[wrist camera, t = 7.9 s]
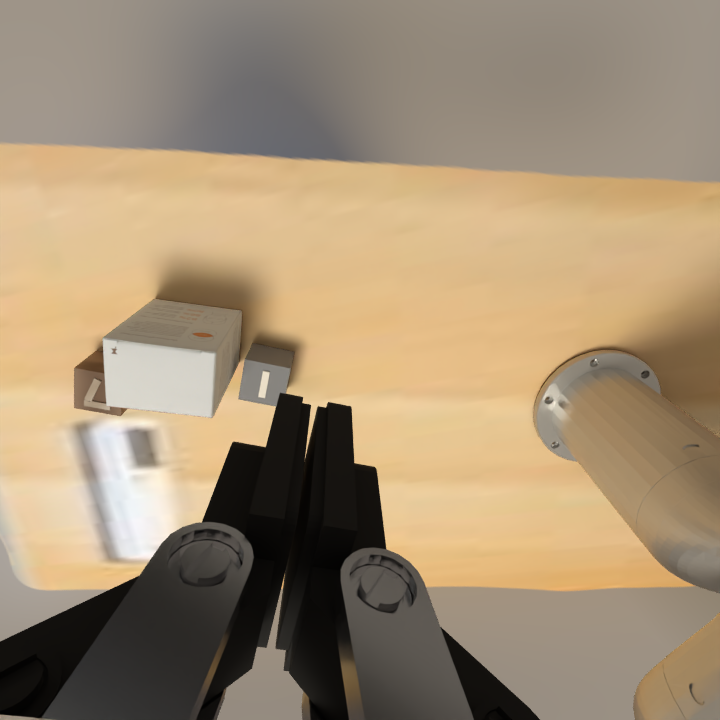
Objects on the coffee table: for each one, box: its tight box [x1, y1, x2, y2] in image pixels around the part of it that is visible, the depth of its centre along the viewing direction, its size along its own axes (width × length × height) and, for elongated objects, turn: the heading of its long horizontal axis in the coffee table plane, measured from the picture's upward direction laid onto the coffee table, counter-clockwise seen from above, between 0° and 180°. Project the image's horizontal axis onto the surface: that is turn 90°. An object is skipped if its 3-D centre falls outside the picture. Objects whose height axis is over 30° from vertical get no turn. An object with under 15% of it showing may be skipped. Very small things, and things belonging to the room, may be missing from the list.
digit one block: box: [238, 343, 294, 406], centre depth 43 cm, size 4×4×4 cm
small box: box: [103, 299, 242, 418], centre depth 38 cm, size 8×6×10 cm
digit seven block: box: [74, 351, 127, 416], centre depth 43 cm, size 4×4×4 cm
